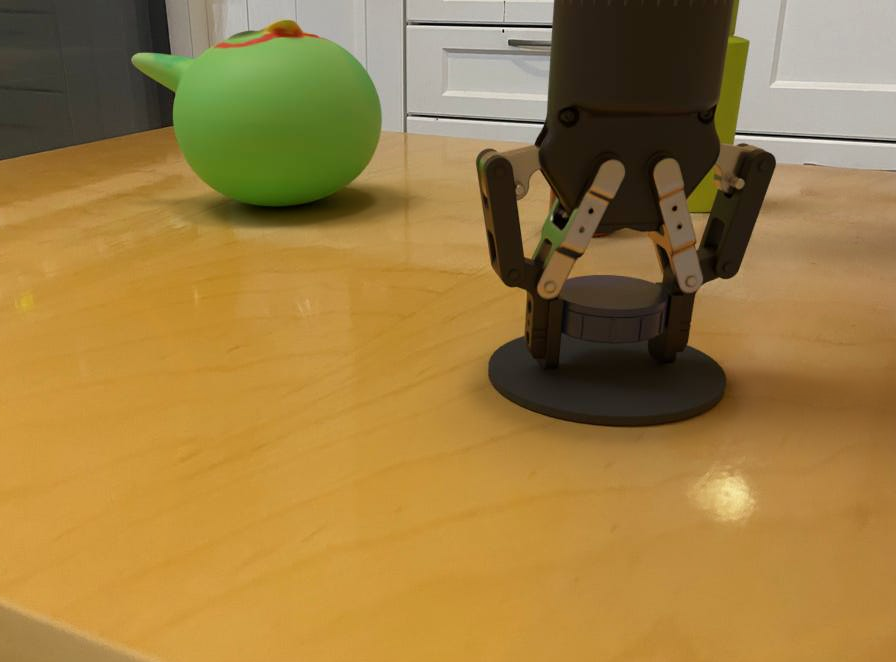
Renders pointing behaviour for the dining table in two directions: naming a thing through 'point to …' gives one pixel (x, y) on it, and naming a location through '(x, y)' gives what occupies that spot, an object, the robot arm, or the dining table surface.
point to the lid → (613, 309)
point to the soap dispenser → (724, 111)
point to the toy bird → (272, 114)
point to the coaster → (608, 382)
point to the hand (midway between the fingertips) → (604, 360)
